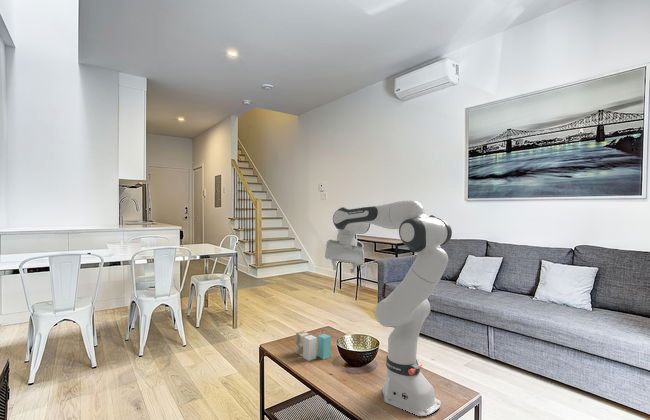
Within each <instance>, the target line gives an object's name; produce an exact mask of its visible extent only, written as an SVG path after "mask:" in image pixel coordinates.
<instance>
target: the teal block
mask: <svg viewBox="0 0 650 420" xmlns="http://www.w3.org/2000/svg"><path fill="white" fill-rule="evenodd" d="M331 344H332V336H331V335H328V334H327V333H323V334H322V333H321V334H319V335H318V336H317V349H316V357H318V358H320V359H322V360H326V359H329V358H331V350H332V349H331V348H332V347H331Z"/></svg>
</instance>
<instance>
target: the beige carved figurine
mask: <svg viewBox="0 0 650 420" xmlns="http://www.w3.org/2000/svg"><path fill="white" fill-rule="evenodd" d="M309 335H310V333H309V332H306V331H299V332H296V333H295V355H298V356H300V357H303V341H304V337H305V336H309Z"/></svg>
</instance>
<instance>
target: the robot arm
mask: <svg viewBox="0 0 650 420" xmlns="http://www.w3.org/2000/svg"><path fill="white" fill-rule="evenodd" d="M424 209H425V208H424V206H423V205H422V204H421V202H418V201H417V200H400V201H395V202H391V203H386V204H381V205H380V204H379V205H374V206H363V207H357V208H346V207H344V206H342V207H339V208H338V209H337V210H336V211H334V213H333V215H332V223H333V225H334V226H335V228H336V229H337V236H336V240H334V239H328V240H327V241H326V244H325V245H326V248H325V253H324V257H325V259H326V260H329V261H331V264H332V268H333V271H338V270H339V267H338V265H337V262H341V263H348V264H352V266H351V267H352V268H350V270H349V272H350V273H351V274H355V273H356V269H357V267H358V266H359V265H360V266H361V265H363V264H364V263H365V252H364V247H365V245H364V243H362V242H361V241H359V240H357V239H356V235H364V234H366V233H367V232H368V231H369V230H370V227H371V225H374V226H378V227H381V228H383V229H387V230H398V235H399V239H400V240H401V242H402V244H403V245H405V246H406V247H407V248H408V249H409V251H410V252H411V253H416V257H415V259H414V261H413V262H412V265H411V266H410V268H409V269H408V271H407V273H406V274H405V276H404V278H403V279H402V280H401V282H400V283H399V284H398V285H397V286H396V287H395V288H394V290H392V291H391V292H390V293H389V294H388V295H387V297H385V298H384V299H382V300H381V301H379V302H378V303H377V304H376V306H375V309H374V310H375V312H374V313H375V317H376V320H377V322H378V323H379V325H381V326H382V327H385V328H393V330H392V331H391V333H390V334H389V336H388V339H387V355H386V361H385V364H386V365H385V366H386V373H385V380H384V382H383V383H384V384H383V386H382V390H381V392H382V395H383V401H384V403H386V404H388V405H391V406H393V407H394V408H395V407H396V408H398V409H400V410H402V409H403V411H405V410H406V411H405V412H407V411H408V413H409V412H410V414H412V413H413V414H412V415H414V414H415V416H416V415H417V416H416V417H419V416H426V415H429V414H431V413H433V412H434V411H436V410H437V409H438V408H439V407H440V405H441V406H442V401H441V400H440V399H438V398H437V397H436V395H435V389H434V387H433V385H432V384H431V383H430V382H429V381H428V379H427V378H426V377H425V376H424V375H423V373H422V372H421V368H423V367H422V366H423V364H420V365H419V362H418V359H417V350H418V339H419V336H420V333H421V329H422V327H423V324H424V322H425V320H426V319H427V318H428V316H429V315H430V314H431V310H432V309H431V304H430V301H429V299H428V298H429V297H430V296H431V295H432V293H433V291H434V290H435V288H436V287H437V285H438V284H439V282H440V280H441V279H442V276H443V275H444V272H445V270H446V268H447V265H448V263H449V256H448V253H447V252H446V250H445V249H443V248H442V246H444V245H446V244H448V243H449V241H451V238H452V235H453V232H452V226H450V224H449V223H448V222H447V221H446V220H444V219H441V218H439V217H437V216H434V215H432V214H431V215H427V214H425V210H424ZM437 404H439V405H437ZM440 408H441V407H440Z"/></svg>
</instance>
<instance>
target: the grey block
mask: <svg viewBox="0 0 650 420" xmlns="http://www.w3.org/2000/svg"><path fill="white" fill-rule="evenodd" d="M317 347H318V337H316V336H314V335H312V334H309V336H305V337H304V341H303V356H302V358H303V359H304V360H306V361H307V362H309V361H313V360H315V359H317Z"/></svg>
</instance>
